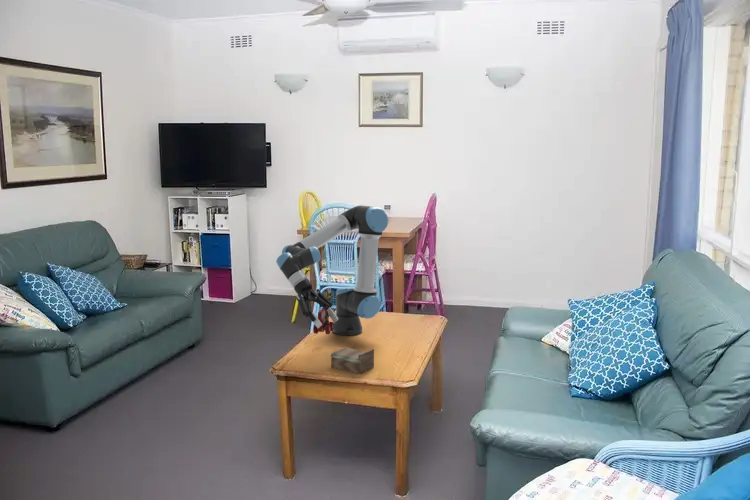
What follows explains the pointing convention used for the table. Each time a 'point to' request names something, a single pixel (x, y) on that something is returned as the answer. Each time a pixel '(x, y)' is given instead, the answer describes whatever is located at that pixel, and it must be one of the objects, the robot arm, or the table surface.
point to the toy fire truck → (324, 322)
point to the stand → (353, 360)
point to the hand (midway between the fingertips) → (328, 323)
